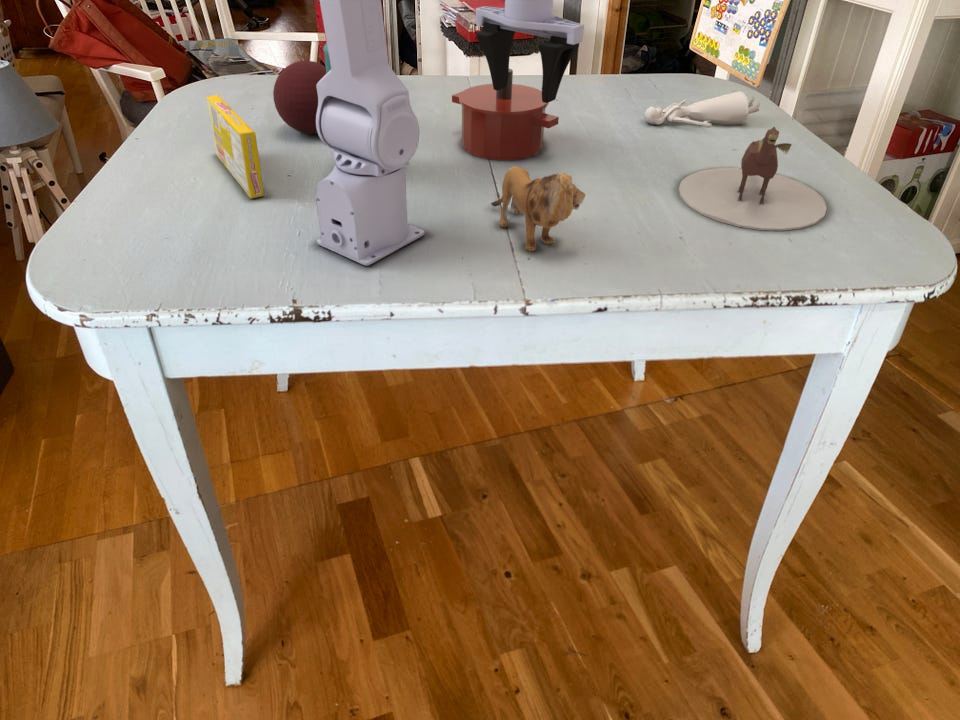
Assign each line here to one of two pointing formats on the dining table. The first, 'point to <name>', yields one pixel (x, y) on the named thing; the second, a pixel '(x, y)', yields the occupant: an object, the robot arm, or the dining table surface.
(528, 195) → the lion figurine
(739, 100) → the woman figurine
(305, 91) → the decorative ball
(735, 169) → the brown figure on disc
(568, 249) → the dining table surface
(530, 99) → the pot lid
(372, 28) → the robot arm
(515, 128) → the pot
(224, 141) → the candy box
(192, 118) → the dining table surface
